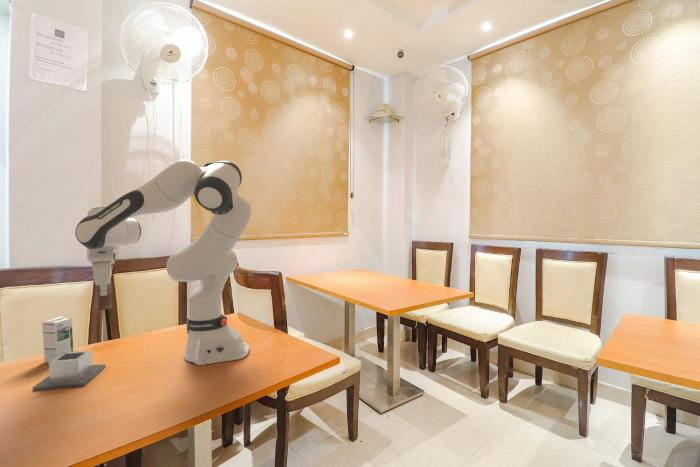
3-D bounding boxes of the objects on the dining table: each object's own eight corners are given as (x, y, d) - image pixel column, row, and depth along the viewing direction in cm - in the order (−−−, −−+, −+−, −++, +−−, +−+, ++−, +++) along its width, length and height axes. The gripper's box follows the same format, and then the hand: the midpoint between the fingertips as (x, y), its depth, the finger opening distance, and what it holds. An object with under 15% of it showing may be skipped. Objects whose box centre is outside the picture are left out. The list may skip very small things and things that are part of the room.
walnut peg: (113, 308, 119) (112, 280, 118) (99, 310, 116) (98, 281, 115) (110, 306, 121) (109, 278, 121) (96, 308, 119) (95, 280, 118)
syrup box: (57, 364, 116) (55, 322, 115) (43, 362, 117) (41, 321, 116) (74, 357, 121) (72, 317, 121) (60, 355, 123) (59, 316, 122)
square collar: (105, 367, 114) (104, 346, 113) (84, 386, 101) (83, 363, 101) (60, 370, 111) (59, 349, 111) (32, 390, 98) (31, 367, 98)
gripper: (94, 252, 125) (95, 289, 125) (88, 257, 108) (90, 301, 108) (115, 251, 128) (116, 287, 129) (113, 256, 111) (114, 298, 112)
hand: (104, 293), depth 118 cm, fingers closed on walnut peg, 4 cm apart
